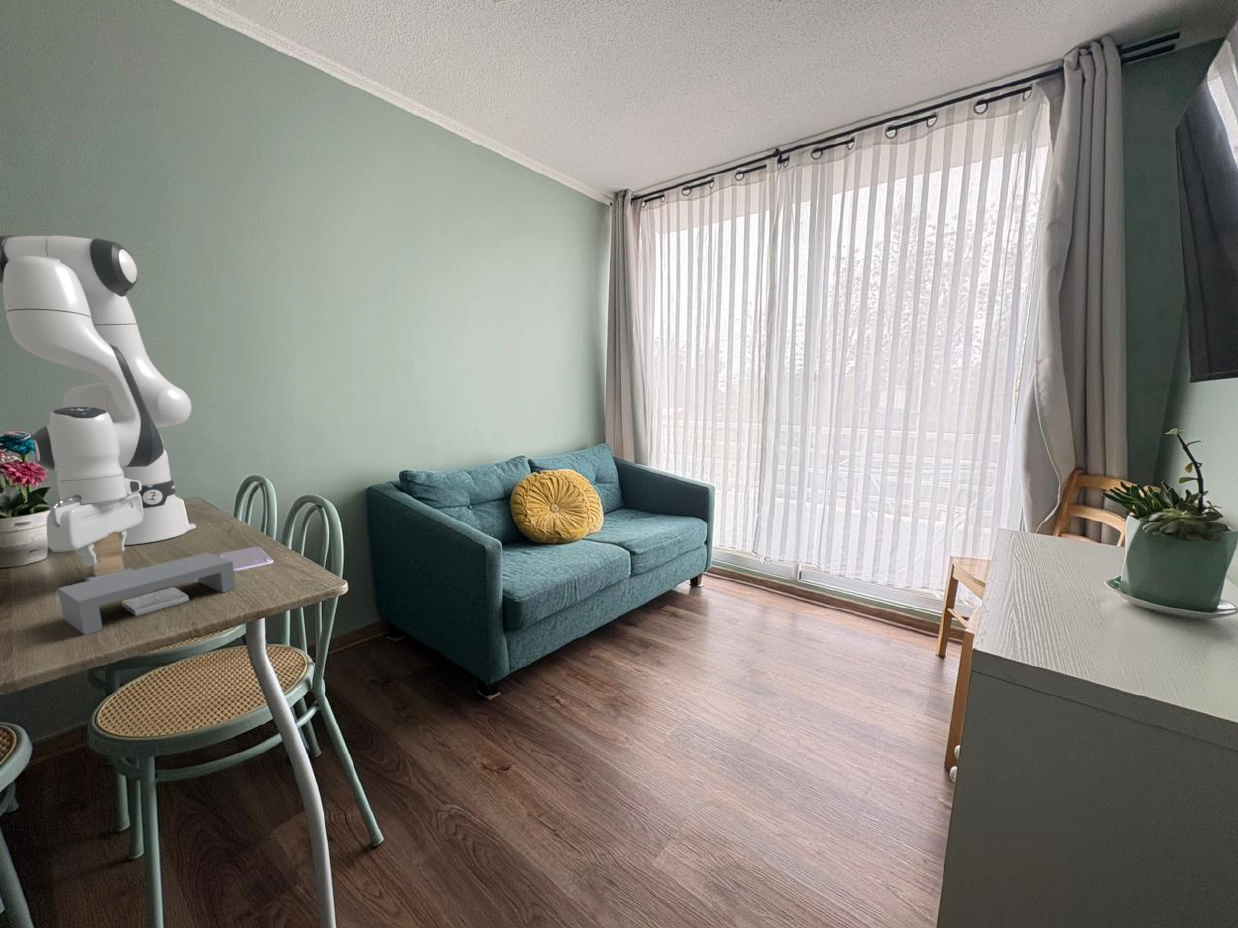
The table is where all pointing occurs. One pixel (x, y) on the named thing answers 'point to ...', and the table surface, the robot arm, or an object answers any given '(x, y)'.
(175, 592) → the flat gray rectangular block
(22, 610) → the table surface
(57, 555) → the table surface
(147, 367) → the robot arm
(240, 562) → the mobile phone
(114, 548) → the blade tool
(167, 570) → the low shelf
